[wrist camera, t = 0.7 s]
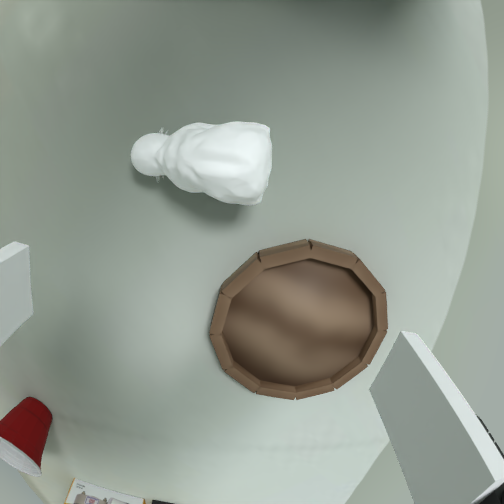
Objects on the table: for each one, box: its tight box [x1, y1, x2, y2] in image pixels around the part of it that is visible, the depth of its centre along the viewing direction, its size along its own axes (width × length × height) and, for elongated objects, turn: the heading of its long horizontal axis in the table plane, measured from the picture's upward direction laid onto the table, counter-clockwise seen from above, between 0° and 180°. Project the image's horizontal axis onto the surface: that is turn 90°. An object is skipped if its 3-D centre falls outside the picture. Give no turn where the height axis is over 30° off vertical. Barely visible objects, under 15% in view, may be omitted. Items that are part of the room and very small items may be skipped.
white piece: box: [131, 121, 272, 206], centre depth 24 cm, size 6×8×12 cm
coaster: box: [209, 239, 388, 400], centre depth 32 cm, size 18×18×2 cm
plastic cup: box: [0, 397, 52, 477], centre depth 33 cm, size 11×11×12 cm
